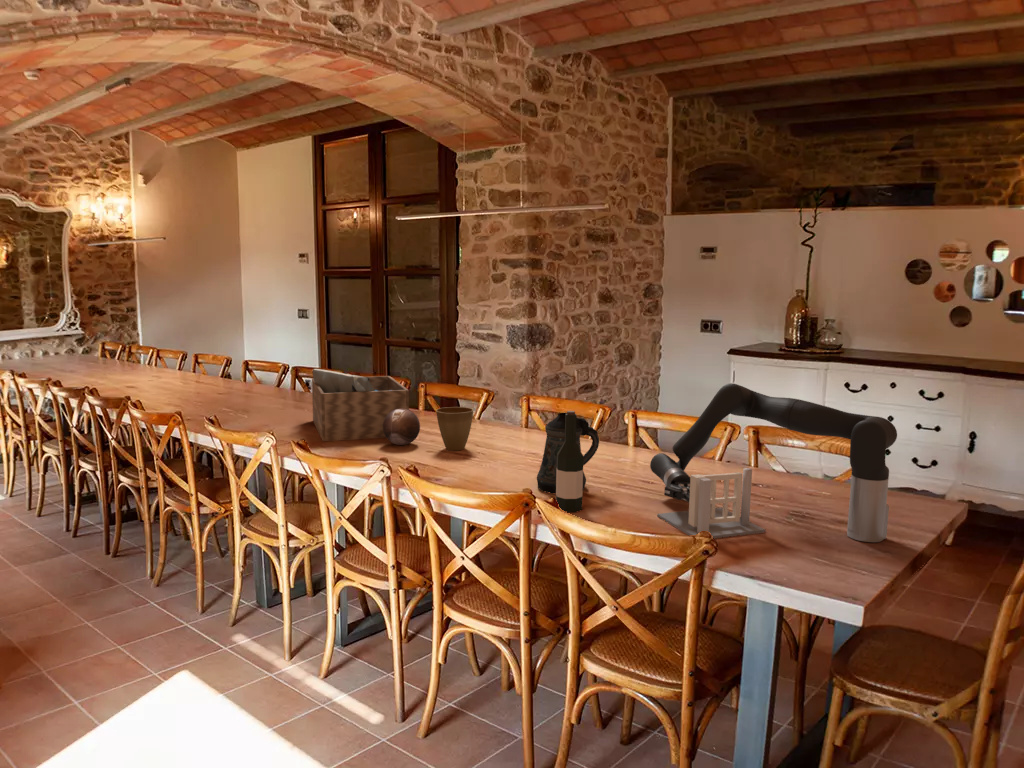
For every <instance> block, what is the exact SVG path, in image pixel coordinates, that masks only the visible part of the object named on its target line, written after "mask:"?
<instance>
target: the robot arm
mask: <svg viewBox="0 0 1024 768" xmlns="http://www.w3.org/2000/svg"><path fill="white" fill-rule="evenodd" d="M729 415H733V416H736V417H737V416H738V417H746V418H747V417H748V418H753V419H758V420H764V421H767V422H769V423H771V424H774V425H776V426H778V427H781V428H784V429H787V430H790V431H793V432H798V433H801V434H805V435H810V436H822V437H823V436H824V437H837V438H844V439H847V440H850V447H849V464H850V467H851V476H850V487H849V488H850V489H849V490H850V491H849V504H848V515H847V518H848V519H847V529H846V535H847V537H849V538H850V539H852V540H855V541H859V542H865V543H880V542H882V541H883V540H885V539H887V534H888V524H889V511H890V505H889V504H888V503H887V500H888V499H887V498H888V490H889V489H888V488H889V479H890V469H889V467H888V466H887V464H886V454H887V451H886V450H887V449H889V448H890V447H892V446H893V445H894V443H895V442H896V441H897V438H898V431H897V430H898V429H897V428H896V426H895V425H894V424H893V423H892V422H891V421H890V420H889V419H886V418H884V417H883V416H874V415H865V414H858V413H852V412H847V411H843V410H840V409H837V408H833V407H829V406H826V405H821V404H819V403H815V402H812V401H808V400H803V399H799V398H791V397H780V396H779V397H778V396H777V397H776V396H770V395H766V394H762V393H760V392H757V391H754V390H752V389H749V388H747V387H745V386H742V385H739V384H736V383H732V382H731V383H726V384H724V385H723V386H721V388H720V389H719V390H718V391H716V394H715V395H714V397H713V398H712V400H711V401H710V402H709V404H708V405H707V406H706V408H705V409H704V410H703V412H702V413H701V415H700V416H699V417H698V419H696V421H694V423H693V424H692V425H691V427H690V428H689V429H688V430H687V431H686V432H685V433H683V435H682V436H680V438H678V440H676V442H675V443H674V444H673V446H672V451H673V454H674V455H675V456H676V457H677V458H678V461H675V460H674V459H673V458H671V457H670V456H669V455H668V454H666V453H663V452H662V453H661V452H660V453H657V454H656V455H654V456H653V457H652V458H651V461H650V464H649V468H650V470H651V472H652V473H654V475H655V476H657V477H658V478H659V479H660V480H661V481H662V483H663V484H664V485H665V486H664V496H666V497H668V498H673V499H675V500H678V501H683V500H684V501H685V502H687V503H689V500H690V478H691V475H689V474H688V473H687V472H686V471H685V470H686V467H687V466H688V465H689V463H690V462H691V461H692V459H693V458H694V457H695V456H696V455H697V454H698V453H699V452H700V451H701V450H702V449H703V448H704V447H705V446H706V444H707V442H709V439H710V438H711V436H712V433H713V431H714V430H715V429H716V427H717V425H719V424H720V423H721V422H722V421H723V420H724V419H725V418H726V417H728V416H729Z"/></svg>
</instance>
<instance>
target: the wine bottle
mask: <svg viewBox="0 0 1024 768" xmlns="http://www.w3.org/2000/svg"><path fill="white" fill-rule="evenodd" d="M566 413H567V414H566V416H565V442H564V443H563V445H562V446H561V448H560V450H559V451H558V453H557V470H556V494H555V501H556V500H557V502H558V504H559V507H560V508H561V509H562V510H564V511H567V512H566V513H578V512H580V510H581V511H583V491H584V490H583V472H584V466H583V456H584V455H583V453H582V450H581V451H580V449H579V447H578V445H577V443H576V417H577V413H576V411H574V410H567V411H566ZM577 511H578V512H577Z"/></svg>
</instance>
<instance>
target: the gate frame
mask: <svg viewBox="0 0 1024 768" xmlns="http://www.w3.org/2000/svg"><path fill="white" fill-rule="evenodd" d="M752 479H753V469H752V468H749V467H743V469H742V488H741V506H740V521H737V522H723V523H712V524H709V518H710V499H711V480H710V479H708V478H704V479H700V483H699V504H698V525H697V527H693V526H691V525H690V524H688V521H689V510H683V511H682V510H681V511H673V512H672V511H671V512H663V513H657V516H658V517H657V518H659V517H660V518H659V519H661V520H662V519H663V520H662V521H664V520H665V521H664V522H666V523H667V522H668V524H669V525H670V526H672V527H674V528H676V529H677V530H679V531H680V532H681V533H684V534H686V535H687V536H689V535H696V534H698V533H699V532H701V531H708V532H710V533H711V535H712V536H713V538H714V539H721V538H722V537H723V538H729V536H731V537H738V536H737V535H740V536H747V535H746V534H748V535H755V533H756V534H764V533H763V532H765V533H766V529H765V528H764V527H762V526H759V525H757V524H755V523H754V522H752V521H750V514H751V501H752V499H751V497H752ZM722 513H723V506H722V507H721V506H720V507H715V518H716V517H722ZM732 514H733V511H729V510H728V515H727V517H728V516H732Z"/></svg>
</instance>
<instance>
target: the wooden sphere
mask: <svg viewBox="0 0 1024 768" xmlns="http://www.w3.org/2000/svg"><path fill="white" fill-rule="evenodd" d="M420 430H421V423H420V420H419V417H418V416H417V414H415V412H414V411H411V410H410V409H409V410H408V409H403V408H400V409H395V410H393V411H391V412H390V413H389V414H388V415H387V416H386V418H385V420H384V423H383V431H384V434H385V436H386V437H385V438H386V439H387V440H388V441H389V442H390V443H392V444H393V445H397V446H404V445H409V444H411V443H412V442H414V441H415V440H416V439H417V437H418V436H419V434H420Z"/></svg>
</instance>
